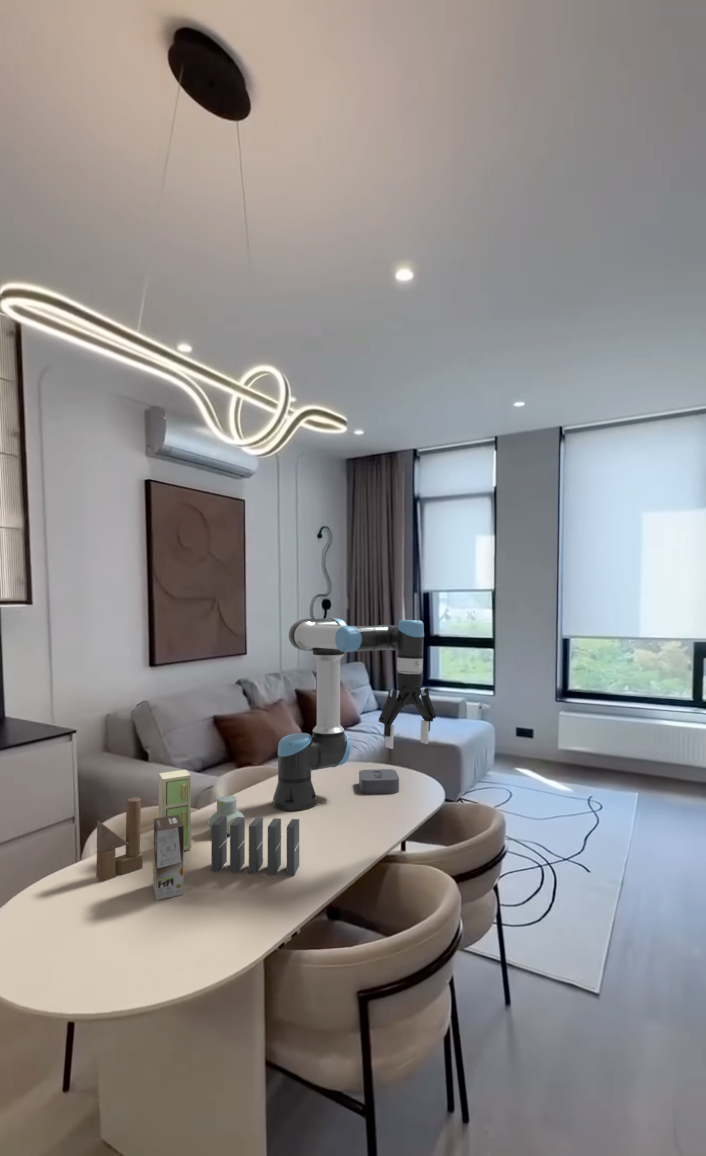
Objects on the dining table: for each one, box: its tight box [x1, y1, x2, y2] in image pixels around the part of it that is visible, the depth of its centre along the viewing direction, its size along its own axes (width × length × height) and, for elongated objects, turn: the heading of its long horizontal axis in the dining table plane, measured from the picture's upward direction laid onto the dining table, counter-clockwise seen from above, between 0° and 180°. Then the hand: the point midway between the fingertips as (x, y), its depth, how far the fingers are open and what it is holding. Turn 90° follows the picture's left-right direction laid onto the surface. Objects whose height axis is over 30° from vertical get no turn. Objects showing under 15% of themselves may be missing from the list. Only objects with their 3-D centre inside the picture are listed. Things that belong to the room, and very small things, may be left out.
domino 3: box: [248, 817, 264, 875], centre depth 150 cm, size 2×6×12 cm, turn 173°
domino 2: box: [229, 816, 246, 874], centre depth 150 cm, size 2×6×12 cm, turn 173°
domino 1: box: [210, 816, 228, 873], centre depth 151 cm, size 2×6×12 cm, turn 173°
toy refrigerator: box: [158, 769, 192, 851], centre depth 163 cm, size 8×7×21 cm
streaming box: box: [358, 768, 400, 795], centre depth 217 cm, size 14×14×5 cm
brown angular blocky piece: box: [95, 796, 143, 882], centre depth 148 cm, size 4×11×18 cm, turn 135°
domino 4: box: [267, 817, 282, 876], centre depth 149 cm, size 2×6×12 cm, turn 173°
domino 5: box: [286, 818, 300, 877], centre depth 148 cm, size 2×6×12 cm, turn 173°
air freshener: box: [207, 795, 245, 836], centre depth 175 cm, size 11×8×10 cm
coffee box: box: [152, 815, 185, 901], centre depth 139 cm, size 9×6×16 cm
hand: (407, 745), depth 167 cm, fingers open, 13 cm apart
